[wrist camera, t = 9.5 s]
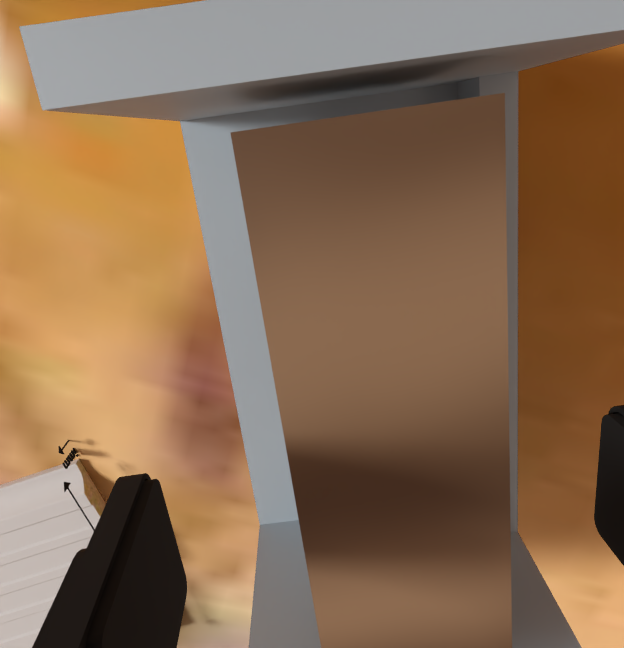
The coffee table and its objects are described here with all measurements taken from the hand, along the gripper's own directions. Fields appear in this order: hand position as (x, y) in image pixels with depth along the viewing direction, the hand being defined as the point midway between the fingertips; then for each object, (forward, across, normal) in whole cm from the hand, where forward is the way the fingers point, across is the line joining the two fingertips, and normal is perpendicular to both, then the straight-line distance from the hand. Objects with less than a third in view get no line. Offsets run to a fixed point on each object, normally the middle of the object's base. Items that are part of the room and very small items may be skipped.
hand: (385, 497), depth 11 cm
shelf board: (+7, -1, +1) cm, 7 cm away
